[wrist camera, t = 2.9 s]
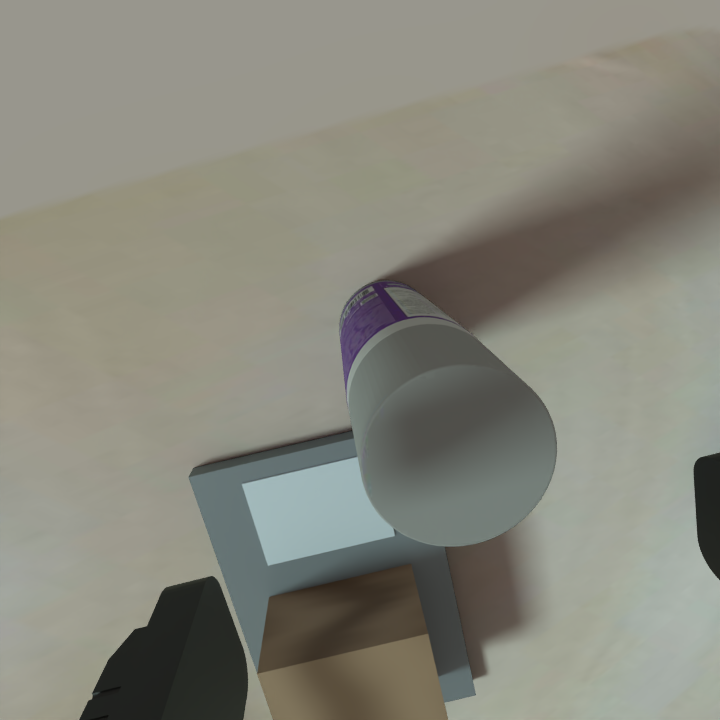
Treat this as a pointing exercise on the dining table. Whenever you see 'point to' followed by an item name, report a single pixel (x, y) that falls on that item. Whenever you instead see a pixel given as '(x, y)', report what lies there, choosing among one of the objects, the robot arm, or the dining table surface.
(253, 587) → the slate board
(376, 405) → the container
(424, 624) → the walnut plinth
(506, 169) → the dining table surface
